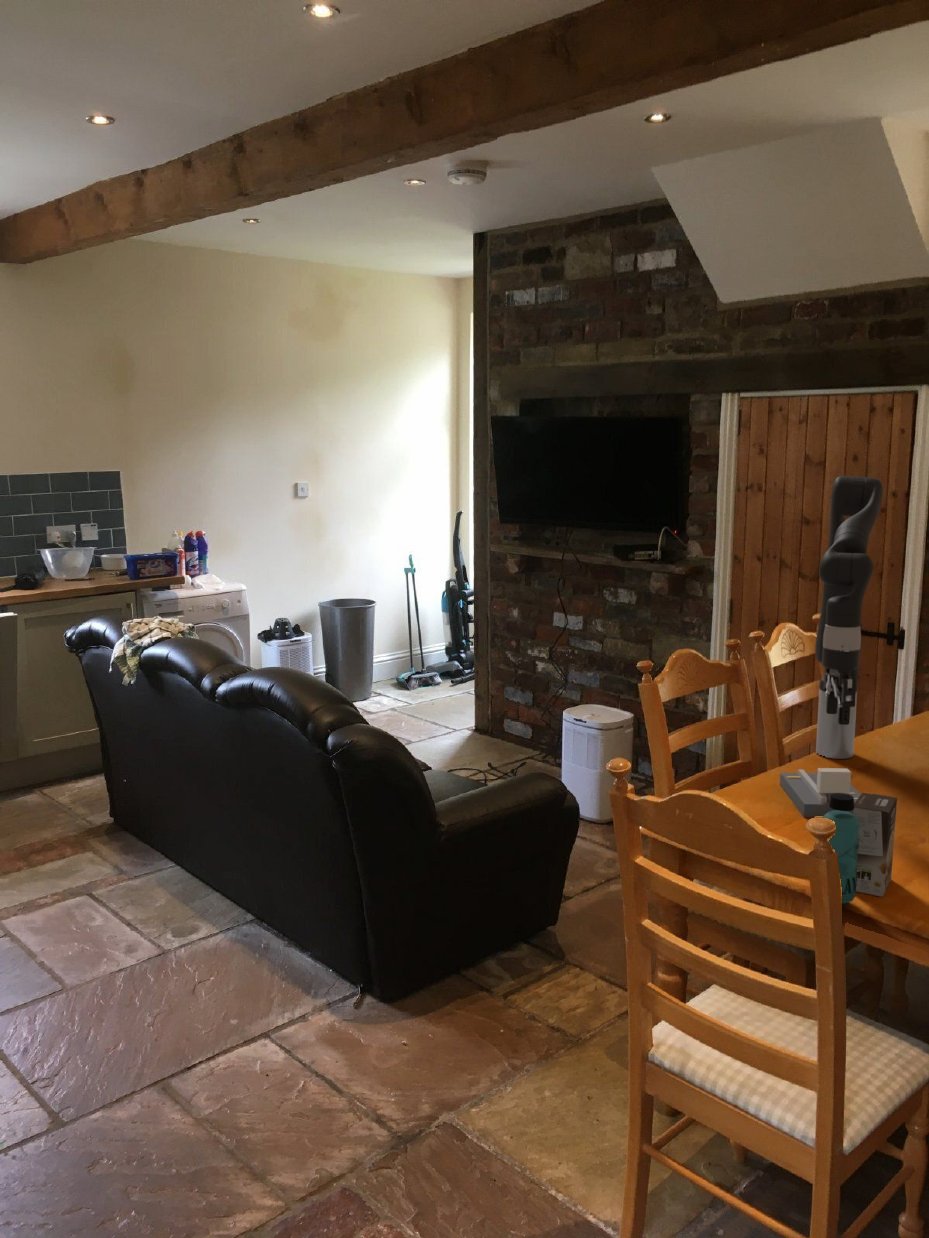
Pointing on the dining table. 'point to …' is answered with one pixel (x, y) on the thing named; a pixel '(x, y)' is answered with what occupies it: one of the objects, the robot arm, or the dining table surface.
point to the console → (808, 793)
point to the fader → (833, 781)
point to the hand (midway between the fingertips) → (837, 718)
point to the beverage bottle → (845, 842)
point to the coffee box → (875, 842)
